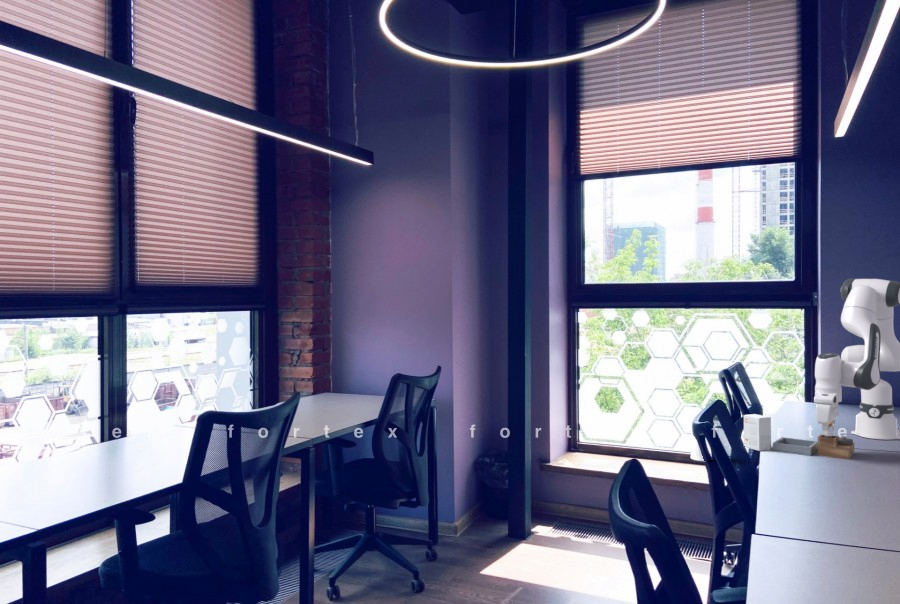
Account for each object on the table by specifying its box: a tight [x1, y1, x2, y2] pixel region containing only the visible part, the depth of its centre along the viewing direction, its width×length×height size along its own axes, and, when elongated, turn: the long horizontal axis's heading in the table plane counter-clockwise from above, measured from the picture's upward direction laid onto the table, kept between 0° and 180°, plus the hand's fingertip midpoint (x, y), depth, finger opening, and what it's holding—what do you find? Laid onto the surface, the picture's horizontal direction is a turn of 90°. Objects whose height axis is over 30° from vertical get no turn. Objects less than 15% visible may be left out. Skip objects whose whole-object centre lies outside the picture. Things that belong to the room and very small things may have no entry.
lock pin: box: [823, 421, 834, 438], centre depth 247 cm, size 3×3×9 cm
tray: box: [772, 436, 818, 457], centre depth 255 cm, size 13×13×3 cm
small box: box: [743, 413, 772, 452], centre depth 259 cm, size 8×6×13 cm
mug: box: [690, 428, 705, 462], centre depth 243 cm, size 12×8×12 cm
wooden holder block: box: [817, 433, 855, 460], centre depth 248 cm, size 12×10×7 cm
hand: (828, 432), depth 247 cm, fingers open, 8 cm apart
